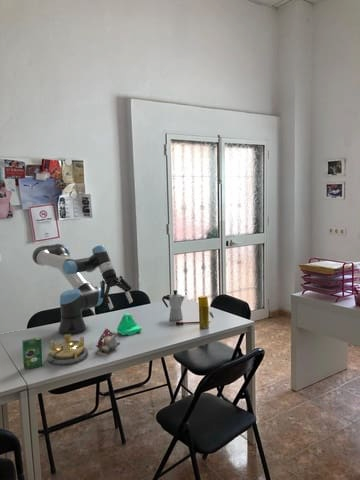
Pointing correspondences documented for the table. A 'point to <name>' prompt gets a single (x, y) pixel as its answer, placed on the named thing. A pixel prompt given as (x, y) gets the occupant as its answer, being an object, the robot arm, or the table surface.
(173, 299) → the coffee maker
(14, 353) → the table surface
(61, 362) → the index base
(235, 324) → the table surface
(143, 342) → the table surface
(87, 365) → the table surface
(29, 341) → the coffee box
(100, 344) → the brake caliper
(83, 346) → the brass finned hub
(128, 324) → the camera mount
